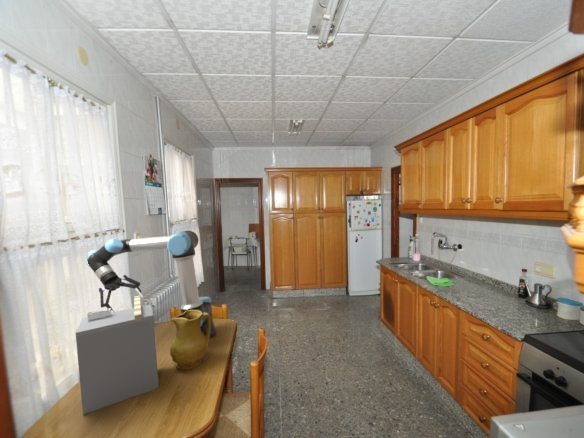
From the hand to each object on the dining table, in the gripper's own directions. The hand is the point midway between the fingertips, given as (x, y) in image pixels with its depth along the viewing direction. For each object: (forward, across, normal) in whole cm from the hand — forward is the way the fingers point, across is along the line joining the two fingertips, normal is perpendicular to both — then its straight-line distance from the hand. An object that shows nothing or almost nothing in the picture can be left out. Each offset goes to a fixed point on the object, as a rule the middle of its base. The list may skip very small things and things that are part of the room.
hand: (130, 305), depth 140 cm
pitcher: (+44, -4, +10) cm, 45 cm away
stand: (+32, +22, +10) cm, 40 cm away
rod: (+9, +4, +24) cm, 26 cm away
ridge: (+2, +16, +23) cm, 28 cm away
